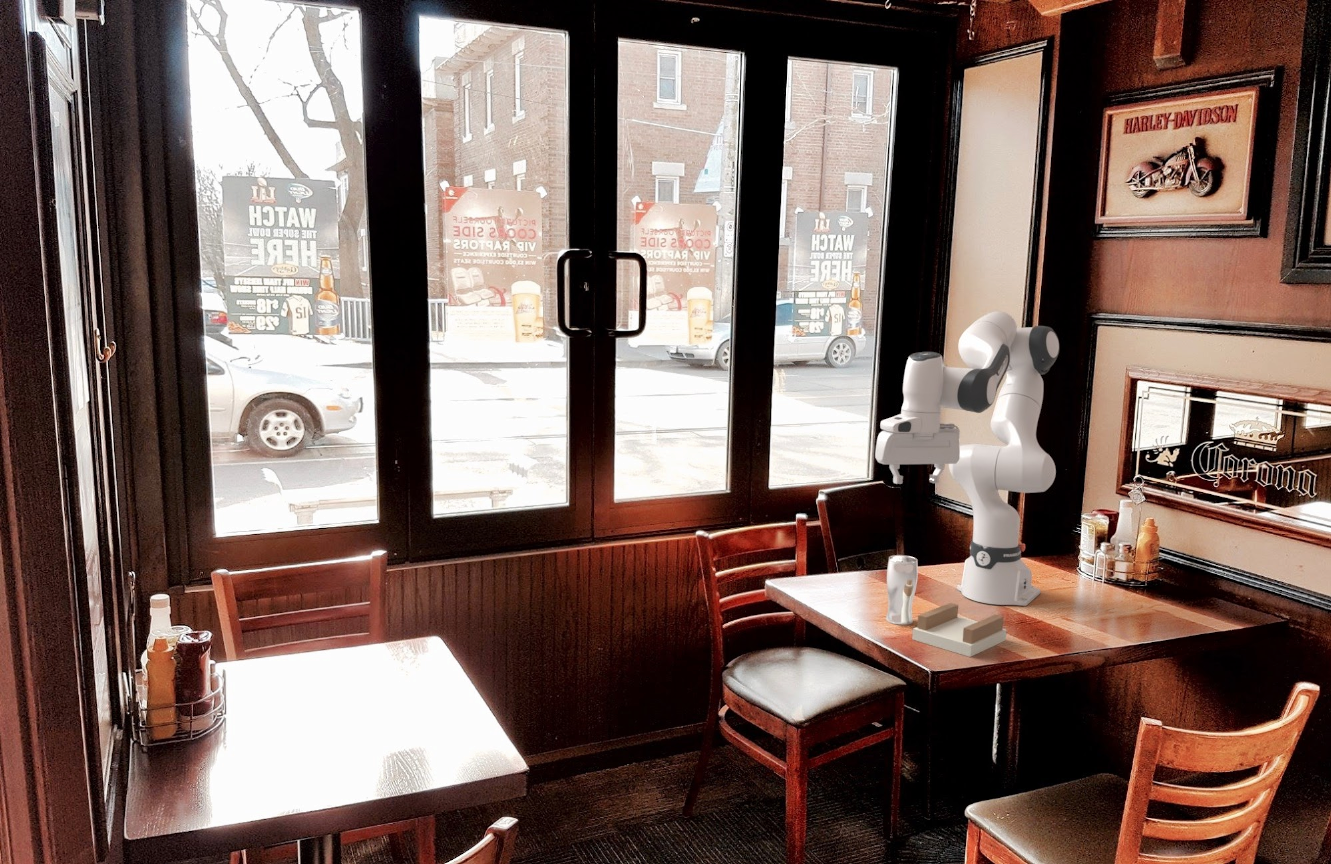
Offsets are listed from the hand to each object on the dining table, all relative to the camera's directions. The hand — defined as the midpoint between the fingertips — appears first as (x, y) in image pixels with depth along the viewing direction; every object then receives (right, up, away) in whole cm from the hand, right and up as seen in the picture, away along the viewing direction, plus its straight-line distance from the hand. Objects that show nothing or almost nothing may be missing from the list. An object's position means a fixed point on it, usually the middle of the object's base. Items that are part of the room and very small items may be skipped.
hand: (915, 483), depth 227 cm
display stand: (+8, -35, -8) cm, 36 cm away
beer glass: (-3, -33, +4) cm, 33 cm away
